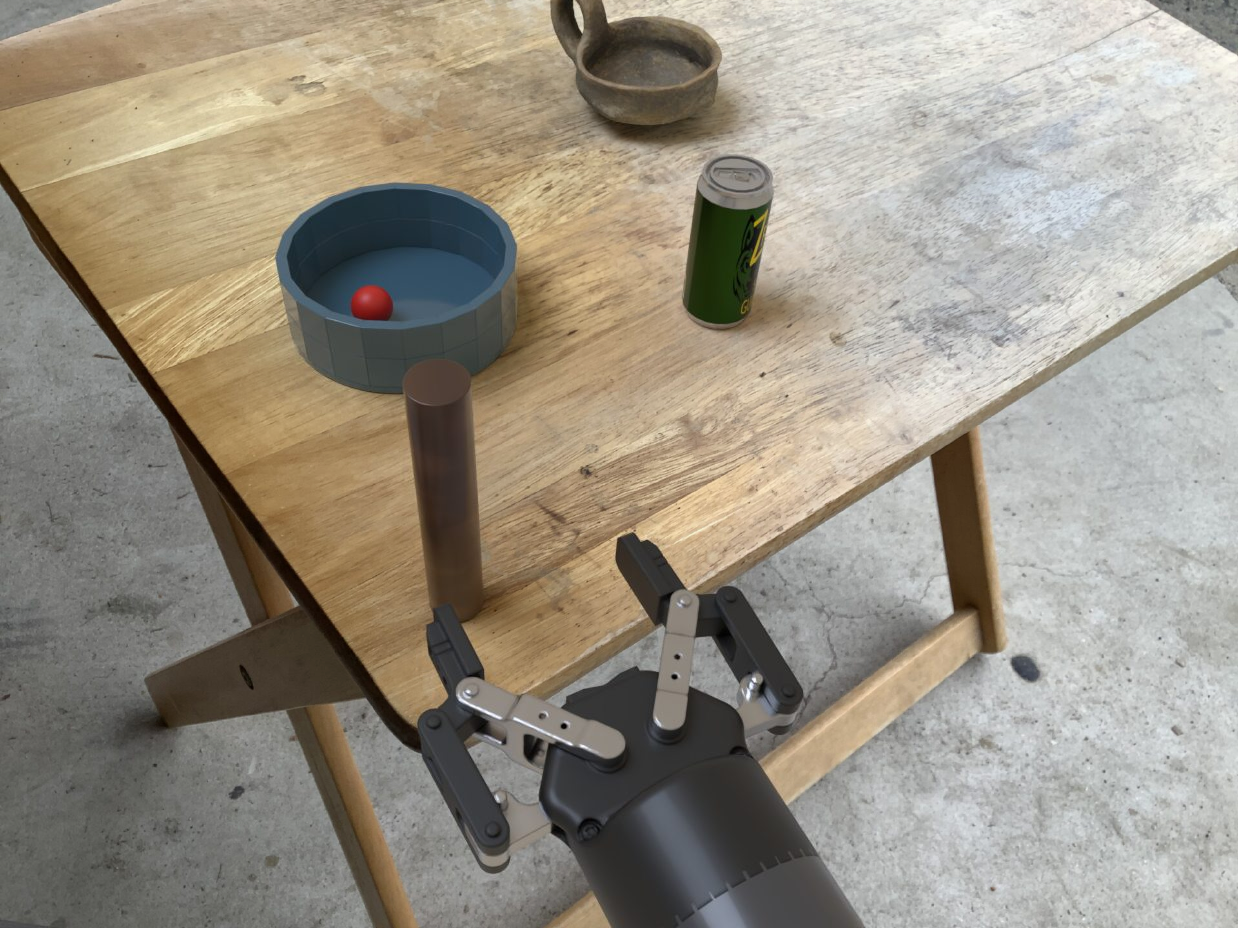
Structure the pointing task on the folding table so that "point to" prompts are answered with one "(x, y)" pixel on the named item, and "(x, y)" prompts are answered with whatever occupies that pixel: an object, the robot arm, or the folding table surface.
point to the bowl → (638, 63)
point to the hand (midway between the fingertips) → (534, 579)
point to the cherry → (372, 304)
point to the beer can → (727, 240)
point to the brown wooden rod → (446, 482)
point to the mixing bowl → (399, 282)
